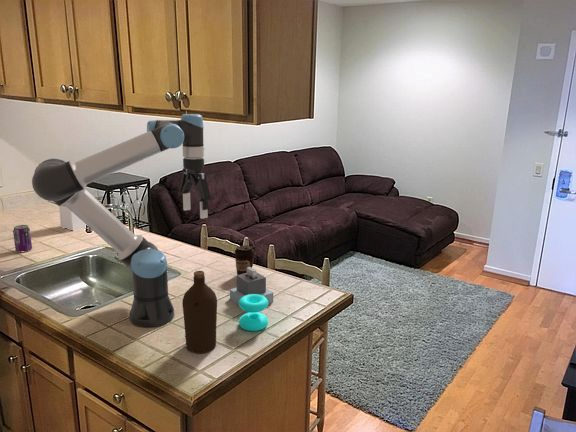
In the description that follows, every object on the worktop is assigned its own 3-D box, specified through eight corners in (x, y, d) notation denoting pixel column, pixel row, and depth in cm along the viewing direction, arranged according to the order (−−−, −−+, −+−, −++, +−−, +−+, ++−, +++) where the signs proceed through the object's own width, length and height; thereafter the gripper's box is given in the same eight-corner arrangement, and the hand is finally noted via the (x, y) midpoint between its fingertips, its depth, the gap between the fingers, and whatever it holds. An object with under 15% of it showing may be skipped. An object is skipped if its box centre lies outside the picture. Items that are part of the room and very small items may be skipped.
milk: (73, 231, 263) (68, 184, 256) (60, 227, 269) (55, 181, 262) (92, 226, 273) (88, 181, 266) (79, 222, 279) (75, 178, 272)
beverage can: (33, 251, 232) (30, 227, 229) (16, 253, 228) (13, 229, 225) (31, 247, 238) (28, 223, 235) (15, 249, 234) (11, 225, 231)
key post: (252, 293, 182) (252, 271, 180) (246, 289, 186) (246, 267, 183) (256, 292, 183) (256, 270, 181) (250, 288, 187) (250, 266, 184)
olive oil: (222, 349, 151) (221, 275, 145) (189, 358, 146) (187, 281, 140) (211, 334, 160) (209, 263, 154) (180, 341, 155) (176, 269, 149)
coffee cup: (251, 280, 204) (251, 251, 200) (232, 278, 205) (231, 249, 202) (256, 273, 212) (256, 245, 209) (238, 271, 214) (238, 243, 210)
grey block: (265, 292, 184) (265, 277, 182) (248, 297, 179) (248, 282, 177) (254, 285, 190) (254, 270, 188) (236, 290, 185) (236, 275, 183)
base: (246, 310, 177) (246, 300, 176) (229, 298, 187) (229, 289, 185) (273, 302, 185) (273, 292, 183) (255, 291, 194) (255, 282, 193)
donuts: (243, 291, 170) (271, 294, 168) (243, 317, 172) (270, 320, 171) (235, 303, 160) (264, 306, 159) (235, 330, 163) (264, 334, 161)
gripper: (219, 161, 168) (220, 220, 174) (187, 152, 187) (189, 205, 193) (200, 163, 164) (202, 223, 170) (169, 153, 183) (171, 208, 188)
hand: (195, 214), depth 181 cm, fingers open, 13 cm apart
